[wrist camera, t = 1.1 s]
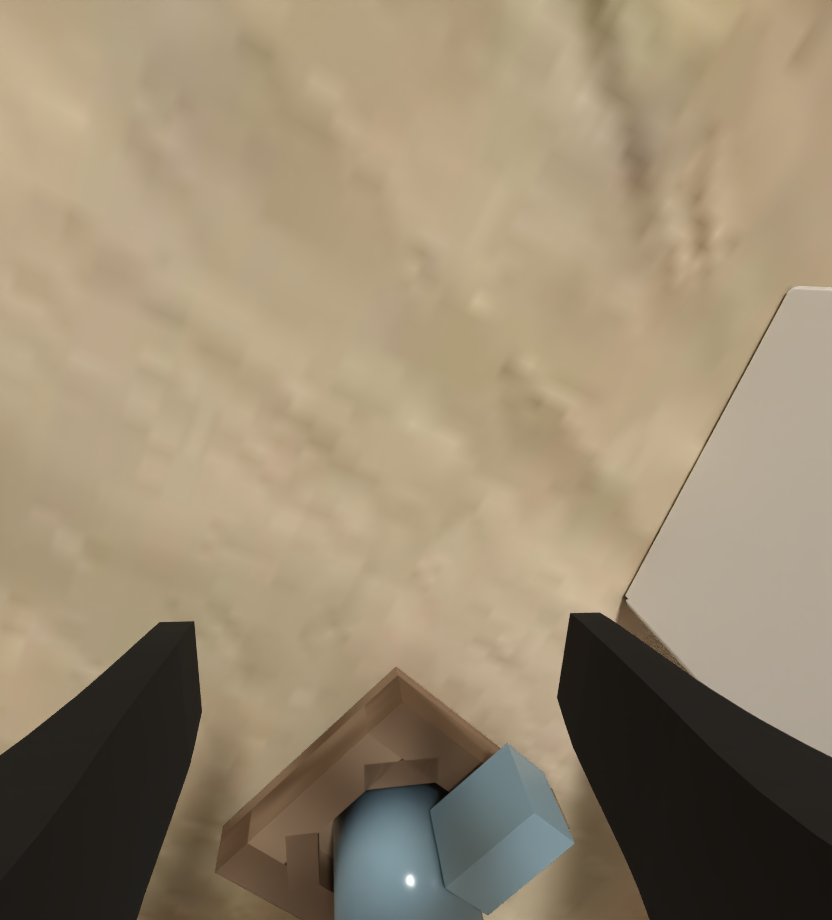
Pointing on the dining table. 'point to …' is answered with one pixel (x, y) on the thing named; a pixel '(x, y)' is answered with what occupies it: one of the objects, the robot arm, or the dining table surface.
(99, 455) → the dining table surface
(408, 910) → the light blue piece
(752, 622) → the gable box
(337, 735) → the holder
